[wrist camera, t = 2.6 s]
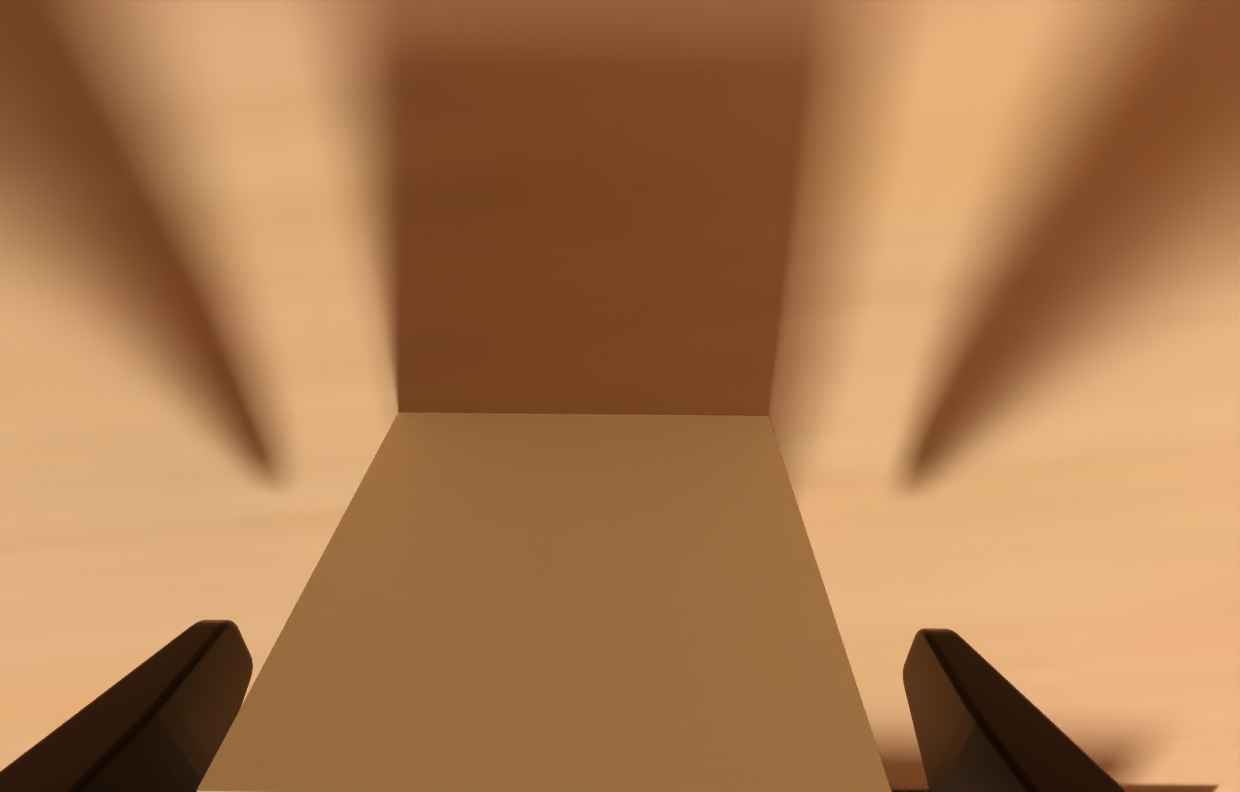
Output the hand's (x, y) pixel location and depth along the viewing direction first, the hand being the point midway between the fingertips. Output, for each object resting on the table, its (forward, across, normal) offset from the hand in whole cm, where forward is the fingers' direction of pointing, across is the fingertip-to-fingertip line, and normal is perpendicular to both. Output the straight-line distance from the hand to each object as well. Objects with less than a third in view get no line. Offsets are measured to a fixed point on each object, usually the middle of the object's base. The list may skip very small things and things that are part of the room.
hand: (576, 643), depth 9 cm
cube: (+2, 0, 0) cm, 2 cm away
